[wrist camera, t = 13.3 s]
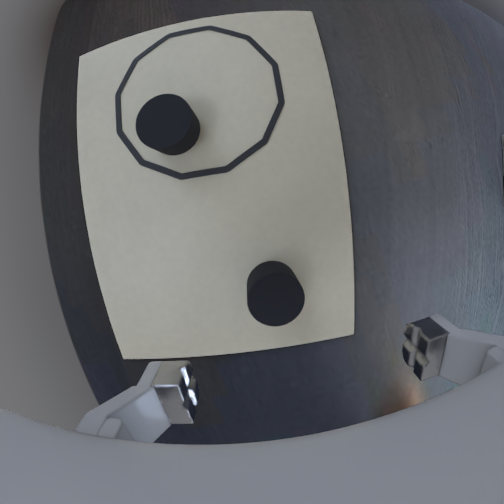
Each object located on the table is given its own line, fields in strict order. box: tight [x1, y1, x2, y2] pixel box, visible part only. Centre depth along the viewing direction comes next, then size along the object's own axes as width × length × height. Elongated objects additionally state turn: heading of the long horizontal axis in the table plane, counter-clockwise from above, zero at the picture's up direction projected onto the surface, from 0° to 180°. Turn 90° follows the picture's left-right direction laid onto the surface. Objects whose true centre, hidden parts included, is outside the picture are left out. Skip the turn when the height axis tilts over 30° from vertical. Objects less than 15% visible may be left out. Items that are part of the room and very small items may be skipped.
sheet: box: [77, 11, 354, 359], centre depth 21 cm, size 22×30×1 cm
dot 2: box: [136, 94, 200, 156], centre depth 18 cm, size 4×4×4 cm
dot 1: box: [247, 261, 305, 326], centre depth 21 cm, size 4×4×4 cm
